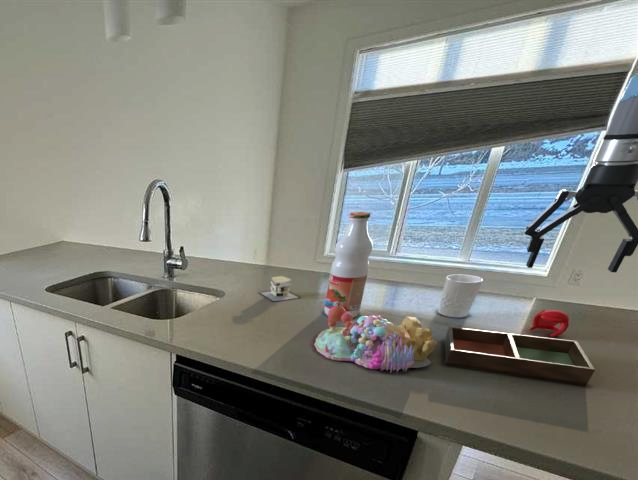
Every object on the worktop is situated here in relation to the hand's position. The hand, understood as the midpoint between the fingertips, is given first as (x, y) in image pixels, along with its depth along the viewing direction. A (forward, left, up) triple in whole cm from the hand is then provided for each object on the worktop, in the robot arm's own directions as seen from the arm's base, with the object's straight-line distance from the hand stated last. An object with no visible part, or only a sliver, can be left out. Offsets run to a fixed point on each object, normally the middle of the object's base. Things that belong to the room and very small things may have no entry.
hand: (568, 268), depth 92 cm
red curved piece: (-1, +1, -16) cm, 16 cm away
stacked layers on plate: (+65, -8, -16) cm, 68 cm away
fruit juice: (+44, +3, -16) cm, 47 cm away
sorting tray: (+8, +21, -16) cm, 27 cm away
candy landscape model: (+34, +26, -16) cm, 46 cm away
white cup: (+17, -7, -16) cm, 24 cm away
